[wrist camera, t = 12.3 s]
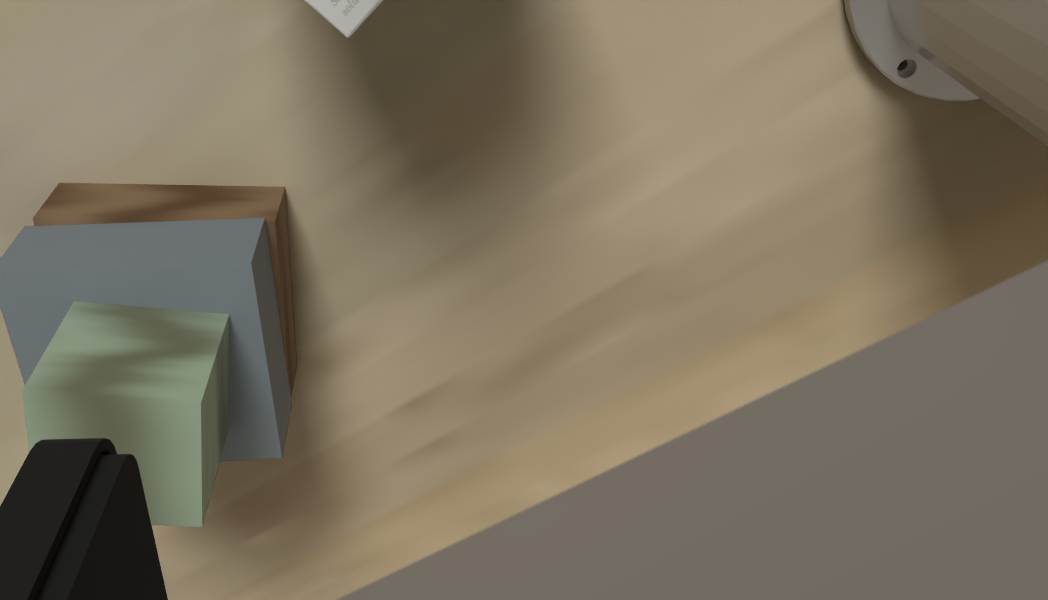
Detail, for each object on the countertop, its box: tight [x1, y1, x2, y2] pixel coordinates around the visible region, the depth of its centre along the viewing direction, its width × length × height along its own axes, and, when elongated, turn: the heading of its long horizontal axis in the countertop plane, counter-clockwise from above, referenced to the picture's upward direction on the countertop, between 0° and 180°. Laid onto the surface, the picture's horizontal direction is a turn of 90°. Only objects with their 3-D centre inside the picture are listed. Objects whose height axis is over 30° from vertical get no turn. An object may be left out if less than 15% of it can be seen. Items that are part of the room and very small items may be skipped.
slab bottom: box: [33, 183, 297, 395], centre depth 47 cm, size 10×10×4 cm
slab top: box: [0, 218, 292, 461], centre depth 43 cm, size 10×10×4 cm
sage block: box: [22, 301, 229, 527], centre depth 39 cm, size 6×6×6 cm
